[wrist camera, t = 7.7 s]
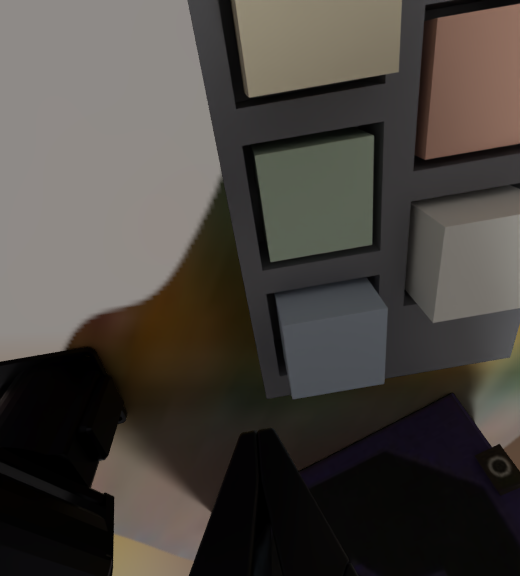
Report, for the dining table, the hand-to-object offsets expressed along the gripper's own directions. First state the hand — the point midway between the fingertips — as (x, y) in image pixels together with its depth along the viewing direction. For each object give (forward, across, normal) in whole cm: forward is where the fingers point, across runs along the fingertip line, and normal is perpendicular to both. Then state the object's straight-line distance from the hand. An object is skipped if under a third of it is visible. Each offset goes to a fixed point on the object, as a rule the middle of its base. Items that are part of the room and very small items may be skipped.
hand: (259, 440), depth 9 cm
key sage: (+11, -4, -3) cm, 12 cm away
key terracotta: (+11, -10, -6) cm, 16 cm away
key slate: (+9, -4, +3) cm, 10 cm away
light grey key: (+9, -10, 0) cm, 13 cm away
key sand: (+9, -3, -9) cm, 13 cm away
